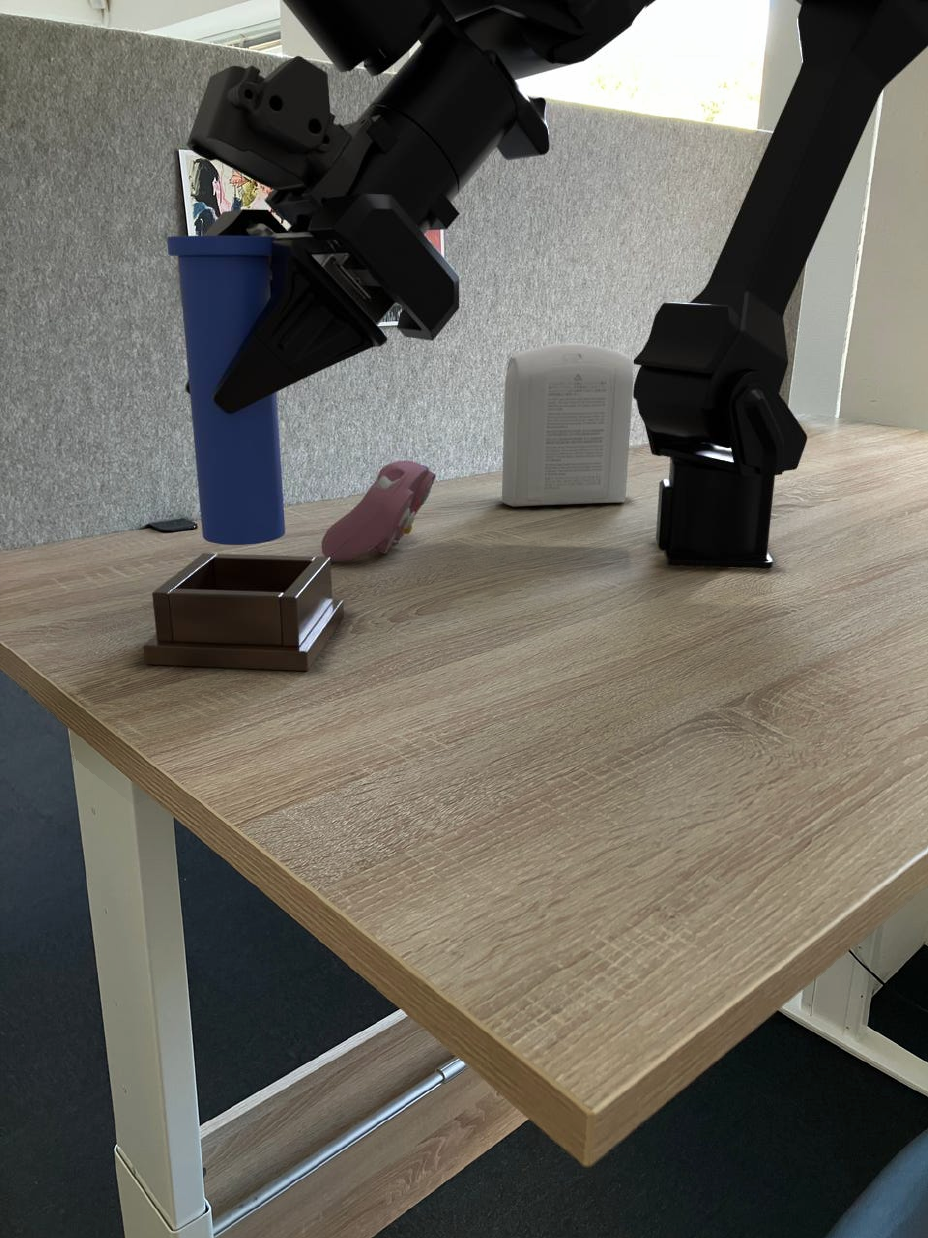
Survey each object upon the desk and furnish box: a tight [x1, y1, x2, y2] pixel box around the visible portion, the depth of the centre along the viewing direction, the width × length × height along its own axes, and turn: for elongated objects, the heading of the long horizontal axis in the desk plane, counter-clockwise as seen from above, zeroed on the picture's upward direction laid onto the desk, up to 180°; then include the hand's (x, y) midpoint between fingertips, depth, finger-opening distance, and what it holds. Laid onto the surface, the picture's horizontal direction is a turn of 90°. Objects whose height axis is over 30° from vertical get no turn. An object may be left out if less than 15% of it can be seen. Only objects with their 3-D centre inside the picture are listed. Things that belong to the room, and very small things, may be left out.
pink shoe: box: [320, 459, 437, 563], centre depth 68 cm, size 10×5×7 cm, turn 168°
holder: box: [142, 552, 345, 672], centre depth 52 cm, size 8×8×4 cm
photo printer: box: [501, 342, 634, 508], centre depth 80 cm, size 10×4×12 cm, turn 103°
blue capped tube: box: [166, 235, 286, 546], centre depth 48 cm, size 5×5×14 cm
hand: (205, 401), depth 48 cm, fingers closed on blue capped tube, 4 cm apart
